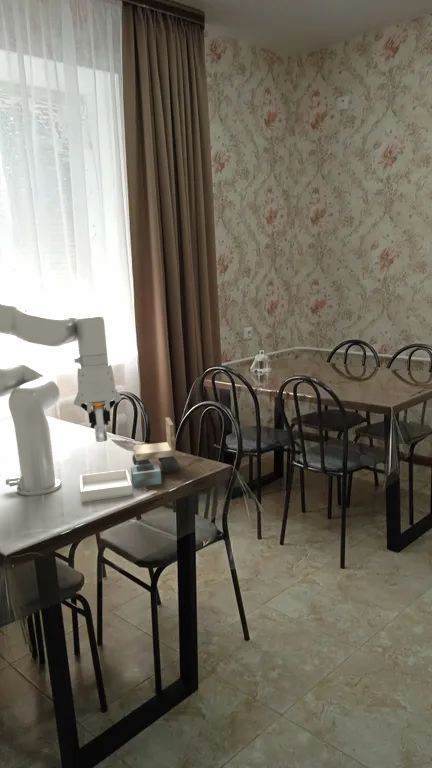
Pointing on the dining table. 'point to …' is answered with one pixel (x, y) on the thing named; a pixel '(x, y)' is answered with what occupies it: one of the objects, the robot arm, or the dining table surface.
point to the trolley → (165, 452)
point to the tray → (105, 485)
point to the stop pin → (99, 421)
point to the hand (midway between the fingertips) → (100, 424)
